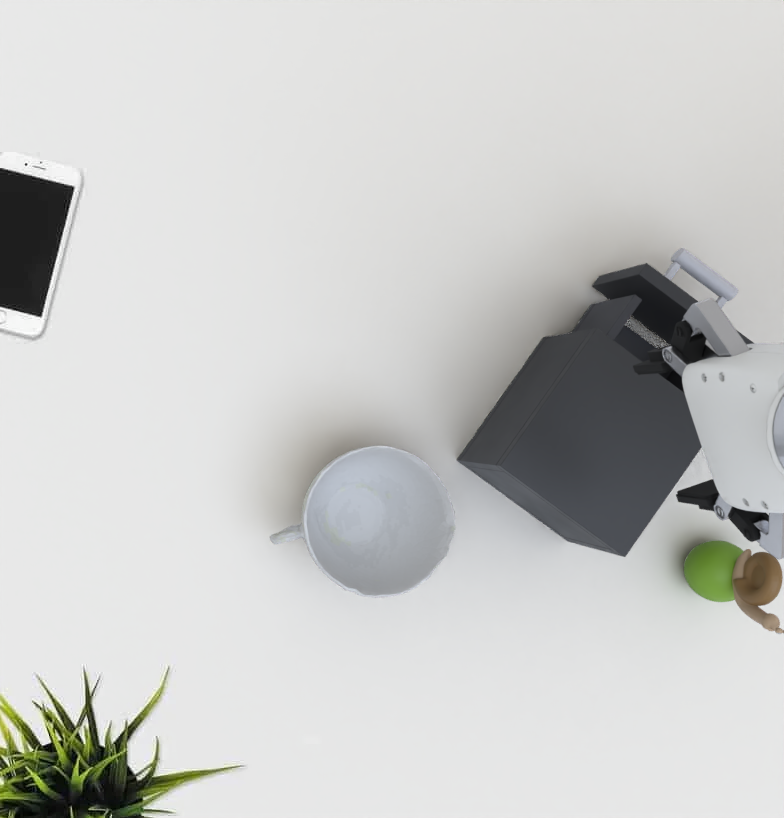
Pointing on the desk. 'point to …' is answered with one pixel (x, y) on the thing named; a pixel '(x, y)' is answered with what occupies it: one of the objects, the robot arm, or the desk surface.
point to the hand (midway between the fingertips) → (673, 426)
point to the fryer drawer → (651, 304)
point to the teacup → (375, 521)
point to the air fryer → (586, 441)
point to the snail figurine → (736, 578)
